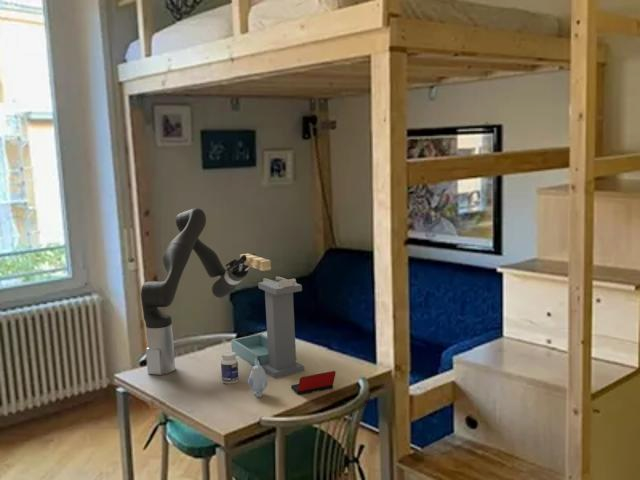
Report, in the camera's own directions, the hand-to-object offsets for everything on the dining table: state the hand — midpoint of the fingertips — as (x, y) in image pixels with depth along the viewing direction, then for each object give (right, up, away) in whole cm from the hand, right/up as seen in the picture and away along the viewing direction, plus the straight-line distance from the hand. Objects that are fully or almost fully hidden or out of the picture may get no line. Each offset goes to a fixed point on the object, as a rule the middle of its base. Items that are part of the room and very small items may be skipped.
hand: (249, 256), depth 243 cm
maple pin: (+2, -4, -3) cm, 6 cm away
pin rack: (+14, -41, -15) cm, 46 cm away
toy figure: (+7, -44, -36) cm, 58 cm away
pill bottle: (-4, -43, -23) cm, 48 cm away
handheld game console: (+25, -43, -34) cm, 60 cm away
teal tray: (+4, -39, +2) cm, 39 cm away
